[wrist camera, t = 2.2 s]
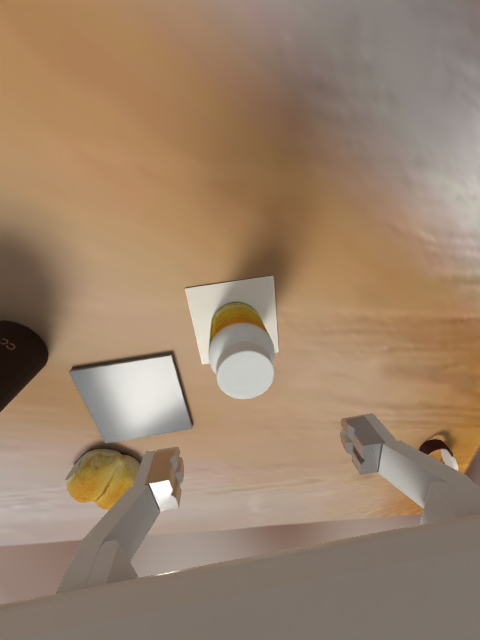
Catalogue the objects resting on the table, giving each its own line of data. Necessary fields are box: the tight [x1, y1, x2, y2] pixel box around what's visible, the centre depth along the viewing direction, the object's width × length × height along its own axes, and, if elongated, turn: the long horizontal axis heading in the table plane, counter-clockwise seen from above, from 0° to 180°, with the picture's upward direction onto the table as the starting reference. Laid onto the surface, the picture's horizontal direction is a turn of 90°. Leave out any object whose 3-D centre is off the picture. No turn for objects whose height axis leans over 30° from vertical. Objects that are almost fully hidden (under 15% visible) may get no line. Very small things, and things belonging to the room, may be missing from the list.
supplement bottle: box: [208, 301, 275, 399], centre depth 19 cm, size 5×5×10 cm
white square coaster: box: [185, 276, 279, 364], centre depth 24 cm, size 9×9×1 cm
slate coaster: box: [69, 353, 193, 444], centre depth 26 cm, size 11×11×1 cm
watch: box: [419, 439, 458, 471], centre depth 34 cm, size 8×5×4 cm, turn 16°
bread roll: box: [66, 449, 140, 510], centre depth 29 cm, size 8×9×4 cm
